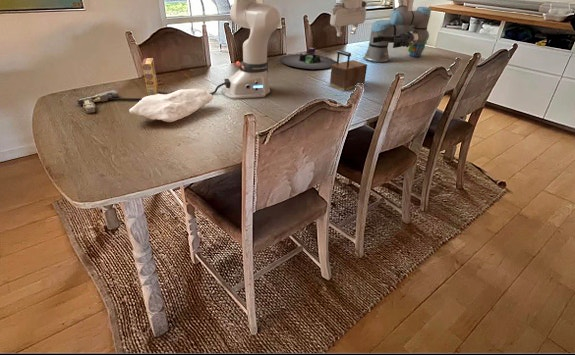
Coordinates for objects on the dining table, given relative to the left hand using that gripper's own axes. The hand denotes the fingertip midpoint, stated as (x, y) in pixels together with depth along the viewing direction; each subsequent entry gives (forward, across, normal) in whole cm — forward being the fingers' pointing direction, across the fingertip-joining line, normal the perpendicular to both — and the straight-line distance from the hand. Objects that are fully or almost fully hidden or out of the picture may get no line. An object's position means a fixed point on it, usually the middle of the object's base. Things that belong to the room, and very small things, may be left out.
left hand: (346, 35), depth 172 cm
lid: (+15, +5, 0) cm, 16 cm away
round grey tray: (+25, +17, +44) cm, 54 cm away
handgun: (+26, -104, +41) cm, 114 cm away
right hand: (+7, +30, 0) cm, 31 cm away
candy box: (+26, -82, +40) cm, 94 cm away
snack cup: (+25, +90, +17) cm, 95 cm away
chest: (+25, +5, 0) cm, 26 cm away
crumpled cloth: (+26, -84, +15) cm, 89 cm away
